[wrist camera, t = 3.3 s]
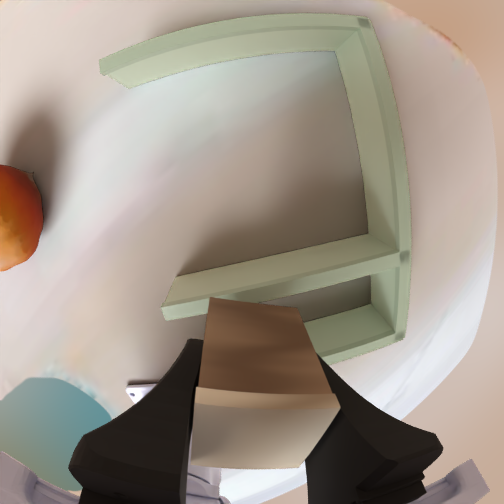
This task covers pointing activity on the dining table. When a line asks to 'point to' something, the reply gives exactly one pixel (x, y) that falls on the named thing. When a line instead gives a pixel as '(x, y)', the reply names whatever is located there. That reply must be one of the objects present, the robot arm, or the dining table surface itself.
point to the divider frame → (372, 164)
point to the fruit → (18, 216)
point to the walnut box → (258, 389)
